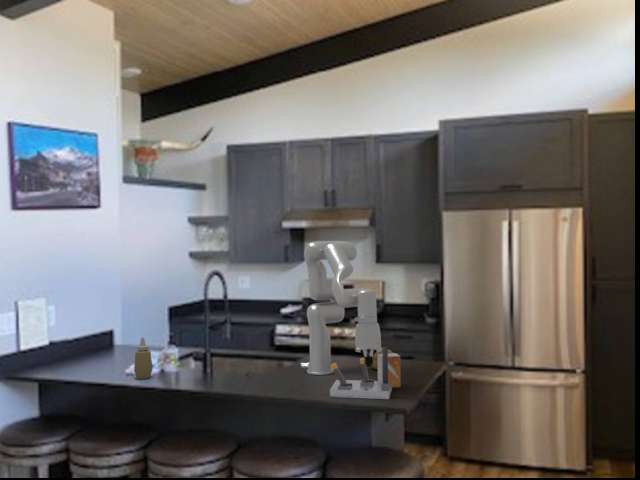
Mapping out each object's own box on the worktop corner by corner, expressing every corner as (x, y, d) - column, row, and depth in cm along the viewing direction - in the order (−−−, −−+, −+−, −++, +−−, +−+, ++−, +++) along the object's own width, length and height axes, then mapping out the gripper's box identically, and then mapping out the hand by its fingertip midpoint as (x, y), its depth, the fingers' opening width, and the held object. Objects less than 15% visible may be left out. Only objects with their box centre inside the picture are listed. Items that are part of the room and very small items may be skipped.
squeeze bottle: (156, 376, 296) (155, 336, 296) (144, 380, 289) (143, 339, 289) (142, 375, 300) (141, 335, 299) (130, 379, 292) (129, 338, 292)
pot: (366, 371, 301) (366, 349, 300) (371, 365, 312) (370, 344, 312) (392, 372, 298) (392, 350, 298) (395, 366, 309) (395, 345, 309)
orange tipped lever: (342, 386, 258) (330, 366, 258) (343, 384, 261) (331, 364, 261) (345, 384, 257) (334, 364, 258) (347, 382, 260) (335, 362, 261)
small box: (382, 388, 269) (381, 356, 269) (377, 384, 275) (377, 353, 275) (401, 387, 271) (400, 355, 270) (395, 383, 277) (395, 352, 277)
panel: (330, 397, 257) (329, 386, 257) (336, 387, 272) (336, 377, 272) (389, 399, 252) (388, 388, 252) (392, 388, 268) (391, 378, 268)
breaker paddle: (364, 382, 263) (359, 359, 263) (365, 380, 266) (360, 358, 266) (368, 381, 263) (363, 359, 263) (369, 379, 266) (364, 357, 266)
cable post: (381, 390, 254) (380, 348, 254) (382, 388, 257) (381, 346, 257) (389, 390, 254) (388, 348, 253) (389, 388, 257) (389, 346, 257)
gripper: (347, 321, 261) (349, 368, 261) (385, 321, 259) (387, 367, 258) (350, 319, 268) (351, 364, 268) (386, 319, 266) (388, 364, 266)
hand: (369, 366), depth 263 cm, fingers closed
